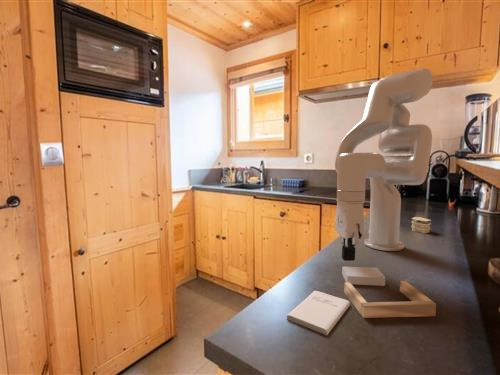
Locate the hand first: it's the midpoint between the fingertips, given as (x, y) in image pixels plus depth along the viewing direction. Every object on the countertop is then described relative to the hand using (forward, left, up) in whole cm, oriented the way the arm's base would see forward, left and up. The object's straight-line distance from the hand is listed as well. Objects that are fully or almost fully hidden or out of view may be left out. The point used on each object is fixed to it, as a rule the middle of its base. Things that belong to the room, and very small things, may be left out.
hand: (348, 259), depth 78 cm
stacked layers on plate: (-35, +44, -3) cm, 57 cm away
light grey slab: (+9, 0, -2) cm, 9 cm away
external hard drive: (+23, -15, -3) cm, 27 cm away
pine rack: (+20, 0, -2) cm, 20 cm away
